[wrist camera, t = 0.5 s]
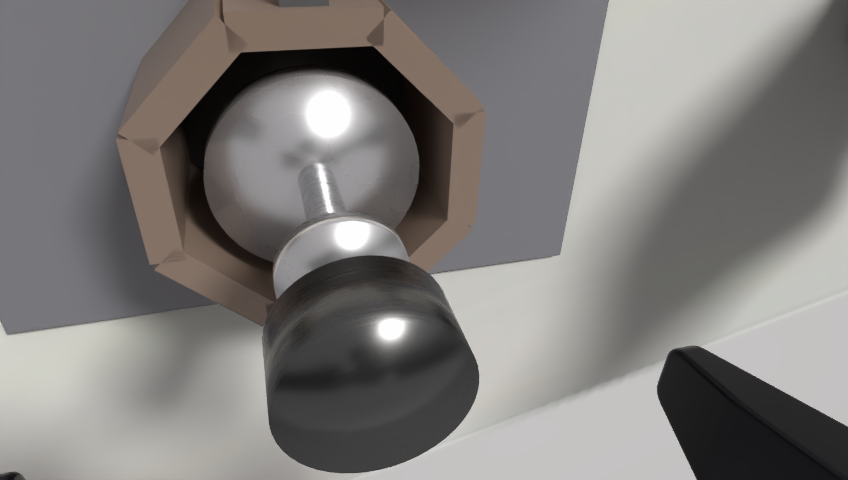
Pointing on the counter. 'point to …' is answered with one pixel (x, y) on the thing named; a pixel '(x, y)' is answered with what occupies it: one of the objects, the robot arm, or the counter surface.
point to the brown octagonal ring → (247, 60)
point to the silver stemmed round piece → (338, 269)
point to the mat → (107, 185)
